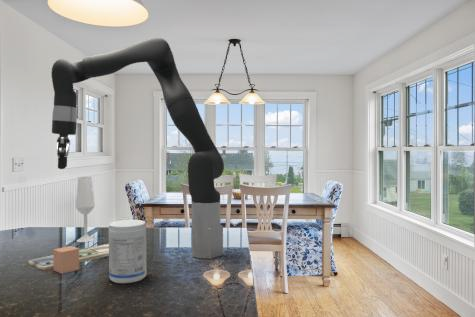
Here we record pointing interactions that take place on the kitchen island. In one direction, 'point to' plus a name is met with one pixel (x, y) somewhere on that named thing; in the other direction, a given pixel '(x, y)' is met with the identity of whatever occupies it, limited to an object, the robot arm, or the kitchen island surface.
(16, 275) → the kitchen island surface
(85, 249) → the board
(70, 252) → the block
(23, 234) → the kitchen island surface
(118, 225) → the supplement tub
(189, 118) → the robot arm
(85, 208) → the champagne flute
